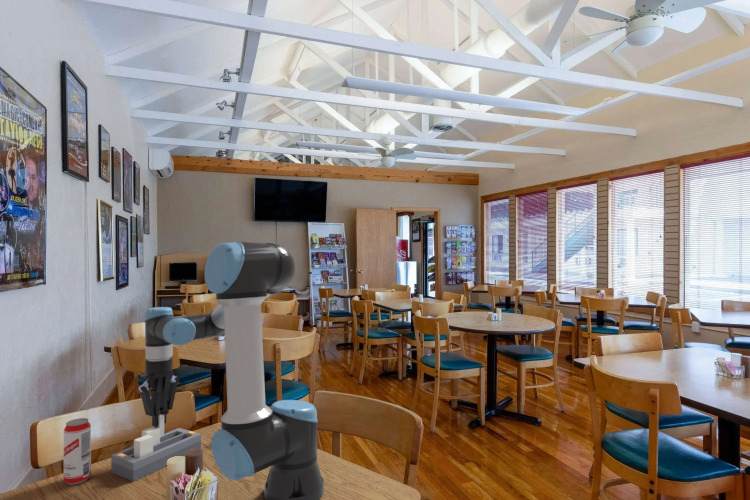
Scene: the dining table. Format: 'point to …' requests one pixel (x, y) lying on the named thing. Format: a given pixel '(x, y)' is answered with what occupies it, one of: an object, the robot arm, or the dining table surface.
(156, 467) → the switch bank
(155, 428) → the tab
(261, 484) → the dining table surface
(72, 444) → the beer can
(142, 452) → the tab
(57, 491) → the dining table surface
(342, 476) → the dining table surface
